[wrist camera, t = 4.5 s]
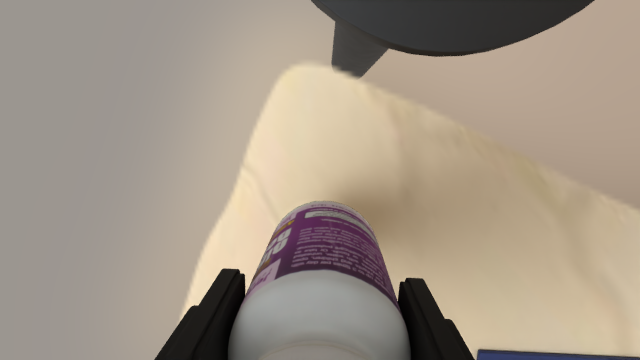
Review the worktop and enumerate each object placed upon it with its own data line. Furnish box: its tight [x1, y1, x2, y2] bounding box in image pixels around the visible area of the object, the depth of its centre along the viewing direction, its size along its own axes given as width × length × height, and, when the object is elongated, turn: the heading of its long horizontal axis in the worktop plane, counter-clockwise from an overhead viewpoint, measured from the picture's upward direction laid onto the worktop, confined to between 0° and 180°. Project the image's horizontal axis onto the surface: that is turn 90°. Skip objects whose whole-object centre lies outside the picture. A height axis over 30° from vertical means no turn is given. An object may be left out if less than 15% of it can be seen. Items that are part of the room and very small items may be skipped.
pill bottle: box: [228, 201, 411, 360], centre depth 11 cm, size 5×5×10 cm
